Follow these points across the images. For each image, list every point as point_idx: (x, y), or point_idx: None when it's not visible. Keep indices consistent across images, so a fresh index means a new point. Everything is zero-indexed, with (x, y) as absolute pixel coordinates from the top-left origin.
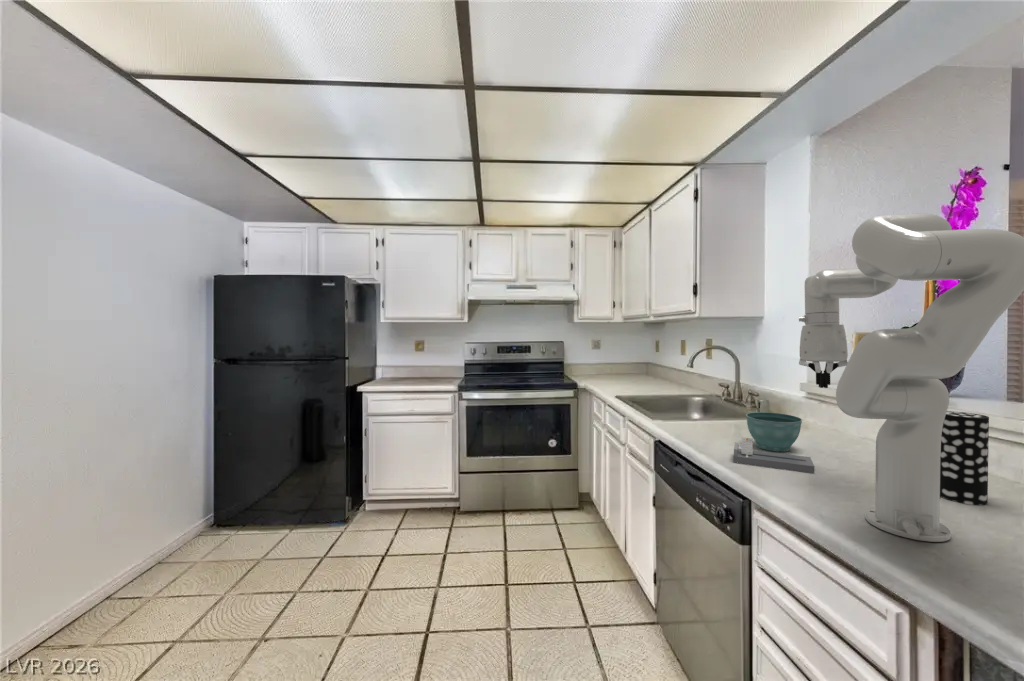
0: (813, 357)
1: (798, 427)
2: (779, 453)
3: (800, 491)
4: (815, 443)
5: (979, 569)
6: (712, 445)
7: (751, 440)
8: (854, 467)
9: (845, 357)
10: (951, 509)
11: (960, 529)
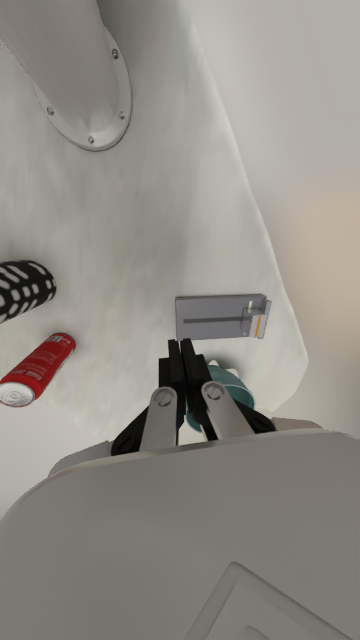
0: (313, 468)
1: None
2: (209, 338)
3: (199, 202)
4: None
5: None
6: (273, 355)
7: (252, 325)
8: (132, 346)
9: (2, 528)
10: (39, 225)
11: (26, 130)
